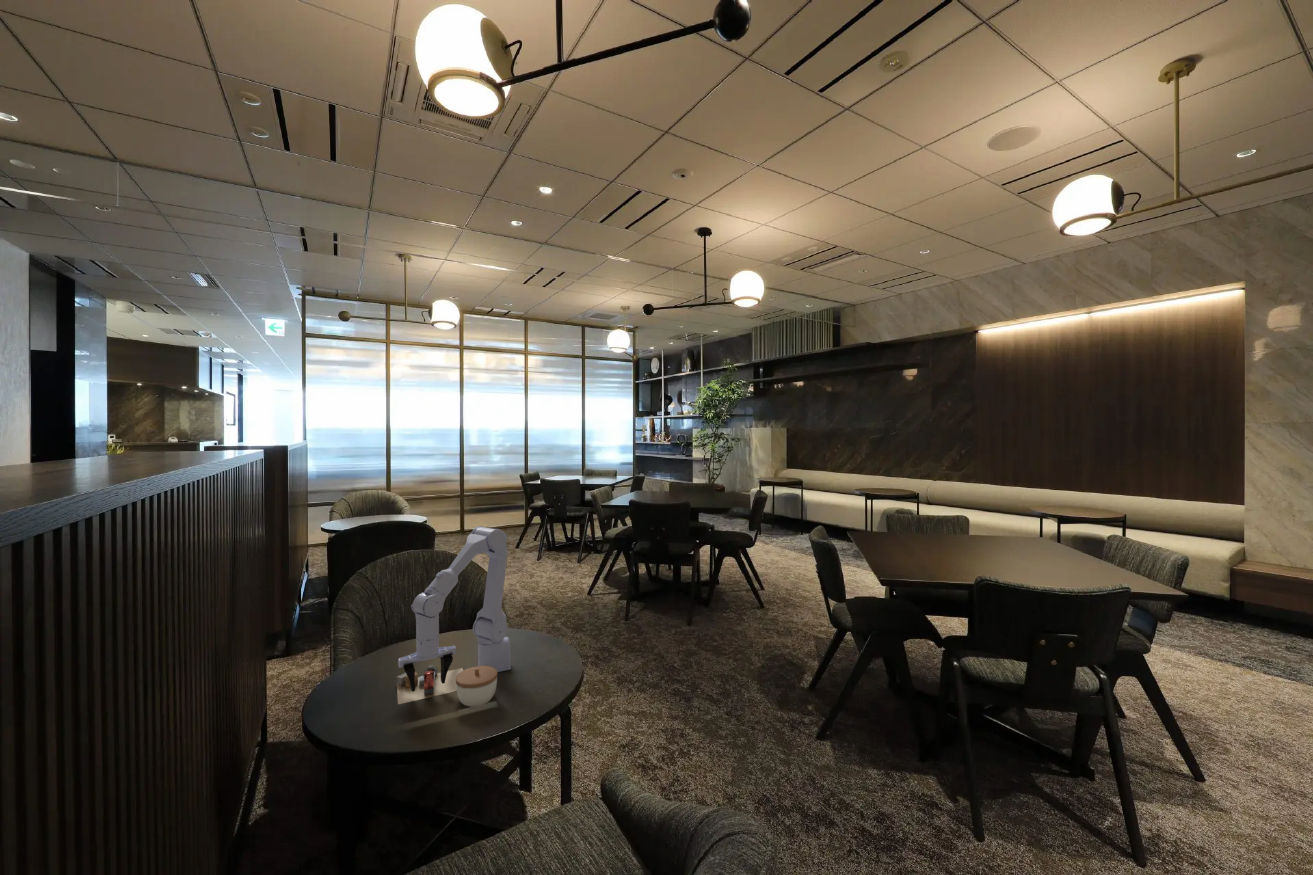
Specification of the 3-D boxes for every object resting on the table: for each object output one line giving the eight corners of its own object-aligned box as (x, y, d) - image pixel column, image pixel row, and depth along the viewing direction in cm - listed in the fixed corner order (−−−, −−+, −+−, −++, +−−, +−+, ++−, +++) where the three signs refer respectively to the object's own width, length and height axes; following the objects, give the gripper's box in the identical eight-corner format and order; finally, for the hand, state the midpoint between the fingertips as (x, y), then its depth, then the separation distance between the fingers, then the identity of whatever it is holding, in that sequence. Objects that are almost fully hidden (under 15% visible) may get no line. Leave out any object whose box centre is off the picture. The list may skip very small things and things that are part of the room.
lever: (437, 671, 153) (437, 653, 153) (435, 693, 140) (435, 673, 140) (420, 674, 151) (420, 655, 151) (417, 696, 138) (417, 676, 138)
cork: (417, 681, 147) (417, 671, 147) (418, 686, 145) (418, 676, 145) (405, 684, 146) (405, 673, 146) (405, 689, 143) (405, 678, 143)
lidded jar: (473, 718, 131) (473, 681, 131) (447, 706, 136) (447, 671, 136) (506, 699, 140) (505, 665, 140) (480, 689, 145) (479, 656, 145)
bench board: (462, 671, 156) (462, 658, 156) (469, 692, 144) (469, 678, 144) (396, 685, 147) (396, 672, 147) (397, 708, 135) (397, 693, 135)
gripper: (451, 626, 148) (452, 673, 148) (396, 638, 140) (396, 687, 140) (457, 634, 142) (458, 682, 142) (400, 647, 134) (400, 698, 134)
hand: (428, 685), depth 141 cm, fingers open, 7 cm apart
